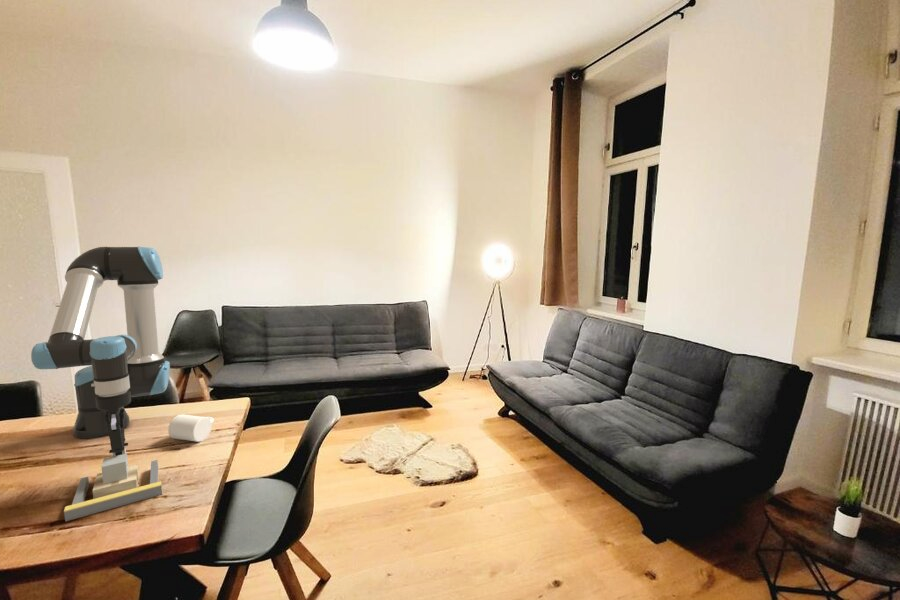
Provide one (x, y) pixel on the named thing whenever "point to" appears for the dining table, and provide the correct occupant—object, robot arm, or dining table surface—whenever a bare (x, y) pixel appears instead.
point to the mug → (190, 427)
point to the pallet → (116, 483)
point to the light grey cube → (115, 468)
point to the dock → (111, 497)
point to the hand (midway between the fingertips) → (121, 470)
